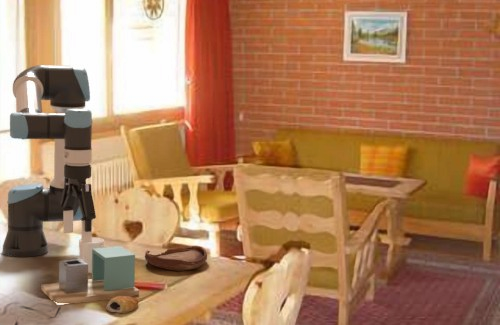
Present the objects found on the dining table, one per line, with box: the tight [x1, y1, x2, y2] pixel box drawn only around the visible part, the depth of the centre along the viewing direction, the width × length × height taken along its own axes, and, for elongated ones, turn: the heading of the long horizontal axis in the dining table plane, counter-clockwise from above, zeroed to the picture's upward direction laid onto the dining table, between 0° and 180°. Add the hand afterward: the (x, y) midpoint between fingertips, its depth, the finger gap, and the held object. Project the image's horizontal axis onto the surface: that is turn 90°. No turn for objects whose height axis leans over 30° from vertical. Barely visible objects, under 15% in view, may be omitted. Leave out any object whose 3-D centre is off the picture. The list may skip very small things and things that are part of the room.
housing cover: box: [91, 245, 136, 291], centre depth 226 cm, size 11×9×10 cm
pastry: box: [105, 296, 139, 314], centre depth 210 cm, size 9×7×4 cm
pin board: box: [40, 278, 140, 304], centre depth 223 cm, size 16×24×4 cm, turn 121°
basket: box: [144, 245, 208, 272], centre depth 258 cm, size 22×20×5 cm
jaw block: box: [58, 258, 89, 294], centre depth 219 cm, size 6×6×8 cm
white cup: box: [78, 236, 105, 274], centre depth 245 cm, size 8×8×10 cm
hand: (77, 237), depth 219 cm, fingers open, 13 cm apart
